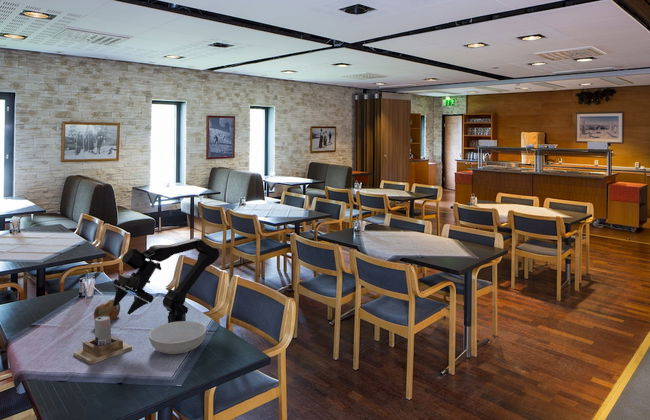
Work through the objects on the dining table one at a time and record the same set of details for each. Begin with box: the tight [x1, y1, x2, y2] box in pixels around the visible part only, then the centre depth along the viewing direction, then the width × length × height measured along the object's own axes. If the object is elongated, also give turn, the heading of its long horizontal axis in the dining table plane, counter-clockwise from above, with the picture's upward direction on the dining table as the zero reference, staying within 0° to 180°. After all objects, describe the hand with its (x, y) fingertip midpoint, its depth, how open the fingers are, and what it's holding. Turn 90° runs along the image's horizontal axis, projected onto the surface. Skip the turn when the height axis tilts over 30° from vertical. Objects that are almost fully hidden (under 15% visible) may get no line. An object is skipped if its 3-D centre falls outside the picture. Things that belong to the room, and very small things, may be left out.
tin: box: [93, 299, 121, 322], centre depth 212 cm, size 15×3×8 cm, turn 168°
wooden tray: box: [73, 335, 133, 365], centre depth 181 cm, size 16×12×4 cm
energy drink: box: [93, 316, 112, 347], centre depth 181 cm, size 5×5×12 cm
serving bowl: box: [148, 320, 207, 355], centre depth 186 cm, size 21×21×7 cm
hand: (121, 309), depth 189 cm, fingers open, 9 cm apart
